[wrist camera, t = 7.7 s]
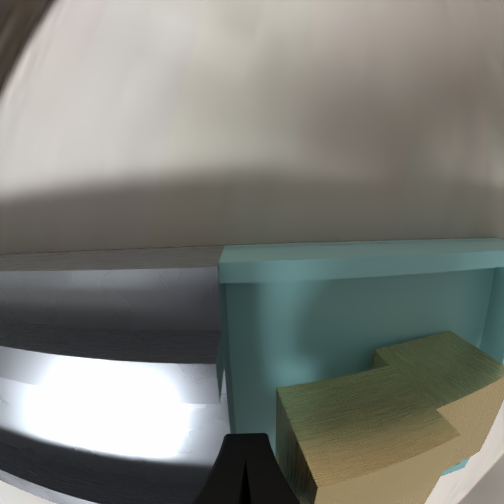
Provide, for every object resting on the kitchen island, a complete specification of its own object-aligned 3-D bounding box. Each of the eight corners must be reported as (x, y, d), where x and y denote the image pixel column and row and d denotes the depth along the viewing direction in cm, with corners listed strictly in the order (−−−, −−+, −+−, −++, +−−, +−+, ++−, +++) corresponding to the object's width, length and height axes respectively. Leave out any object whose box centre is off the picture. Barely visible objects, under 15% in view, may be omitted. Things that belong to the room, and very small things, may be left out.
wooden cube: (372, 444, 11) (418, 513, 7) (274, 467, 10) (302, 552, 6) (391, 364, 10) (461, 434, 6) (276, 387, 9) (318, 487, 5)
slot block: (241, 475, 14) (240, 548, 9) (-31, 419, 14) (-64, 454, 9) (224, 245, 11) (209, 289, 7) (-85, 259, 11) (-136, 278, 7)
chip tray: (446, 440, 14) (464, 467, 11) (241, 475, 14) (240, 511, 11) (497, 237, 11) (534, 248, 9) (224, 245, 11) (218, 262, 9)
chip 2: (359, 427, 12) (431, 403, 12) (402, 490, 8) (479, 451, 9) (373, 349, 11) (449, 330, 12) (435, 409, 7) (513, 371, 8)
